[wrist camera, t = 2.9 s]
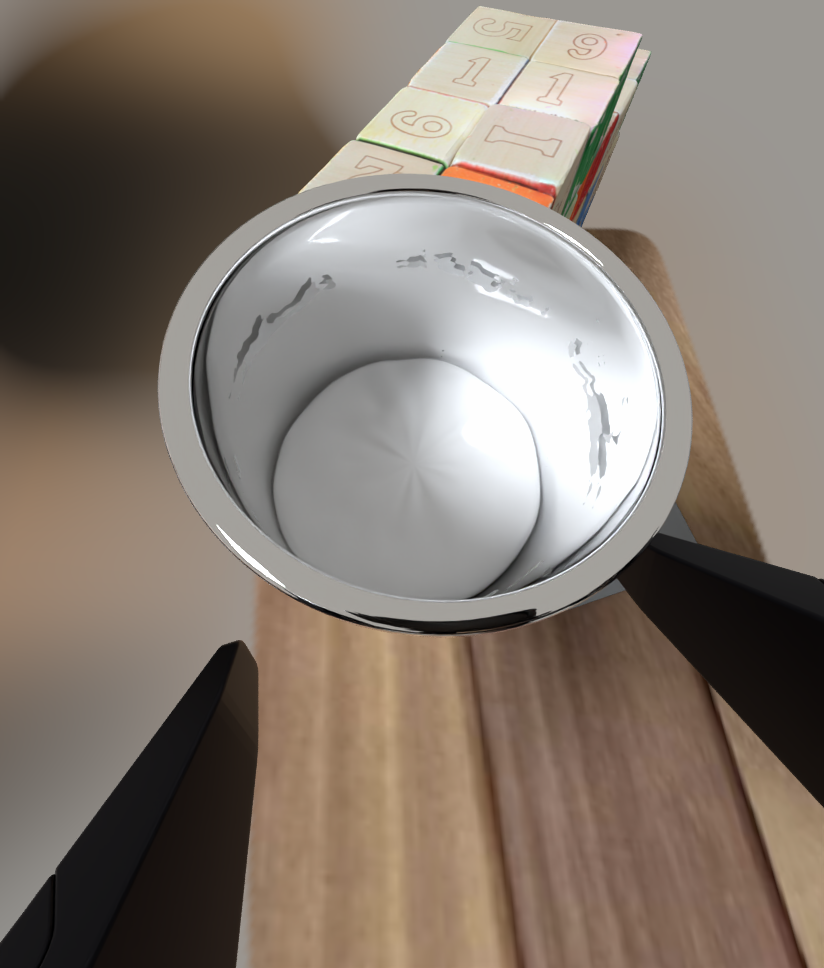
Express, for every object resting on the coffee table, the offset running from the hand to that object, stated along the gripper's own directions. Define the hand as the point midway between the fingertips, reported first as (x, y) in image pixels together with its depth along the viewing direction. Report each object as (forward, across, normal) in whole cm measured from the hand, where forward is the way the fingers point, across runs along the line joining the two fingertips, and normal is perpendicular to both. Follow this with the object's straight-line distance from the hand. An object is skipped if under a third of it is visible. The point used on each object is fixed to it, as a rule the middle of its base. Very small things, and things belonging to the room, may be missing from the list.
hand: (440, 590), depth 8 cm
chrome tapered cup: (+9, 0, +5) cm, 11 cm away
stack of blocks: (+18, -10, -4) cm, 20 cm away
